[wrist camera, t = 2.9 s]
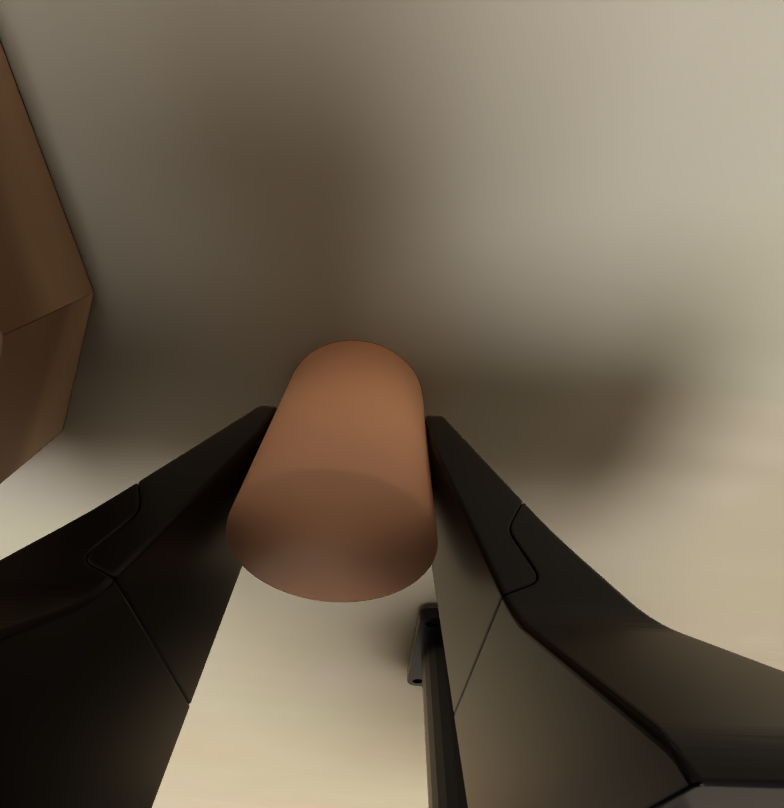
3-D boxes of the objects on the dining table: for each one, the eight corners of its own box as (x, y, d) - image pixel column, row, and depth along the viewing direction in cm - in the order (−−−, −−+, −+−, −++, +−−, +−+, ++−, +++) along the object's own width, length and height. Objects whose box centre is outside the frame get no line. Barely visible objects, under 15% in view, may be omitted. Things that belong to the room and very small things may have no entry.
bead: (415, 455, 11) (425, 606, 8) (294, 448, 11) (243, 597, 8) (430, 344, 9) (453, 475, 6) (283, 336, 9) (205, 462, 6)
